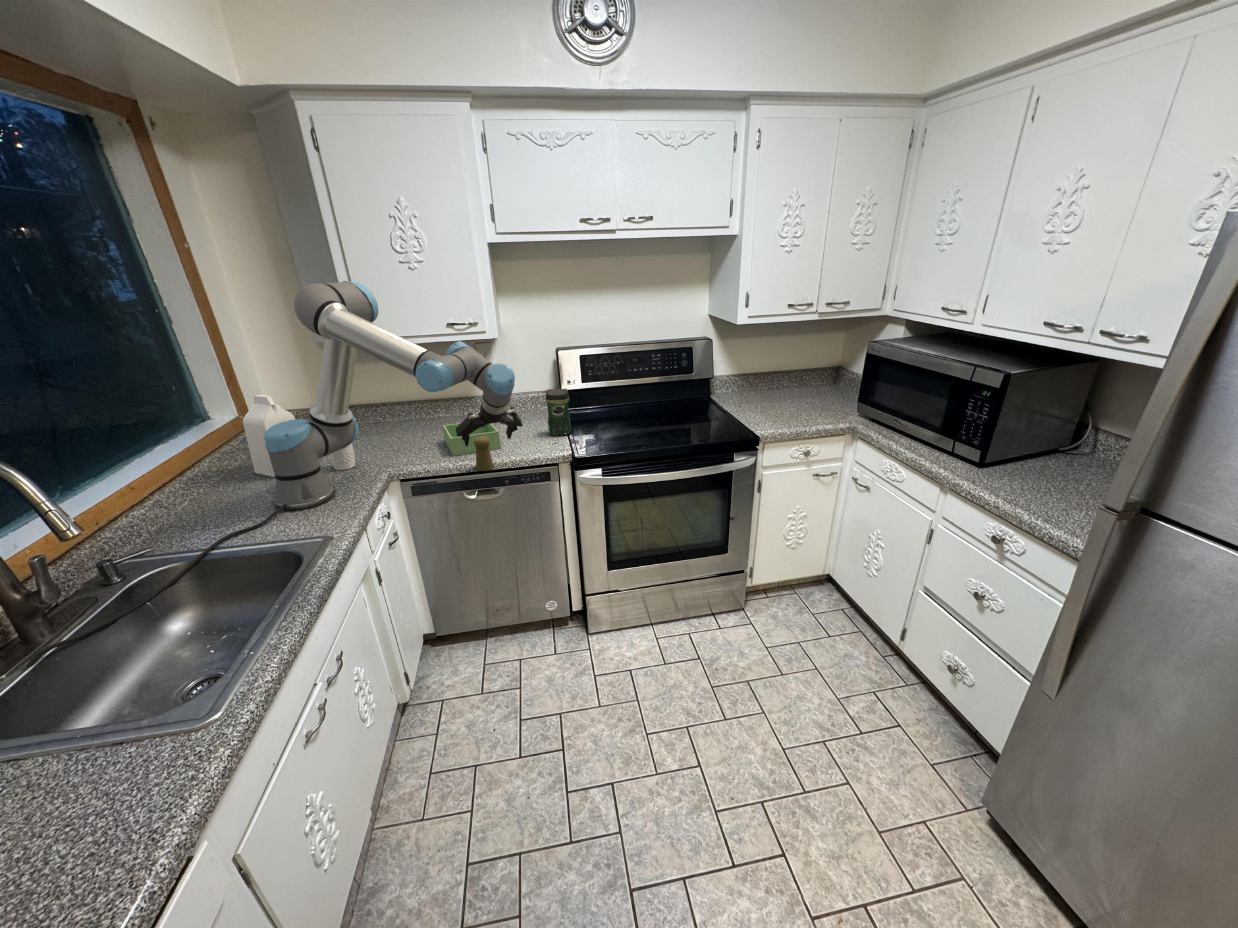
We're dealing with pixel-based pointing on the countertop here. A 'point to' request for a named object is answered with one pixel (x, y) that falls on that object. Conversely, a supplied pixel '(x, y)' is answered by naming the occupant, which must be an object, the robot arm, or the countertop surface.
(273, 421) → the milk
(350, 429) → the robot arm
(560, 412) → the coffee jar
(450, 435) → the box
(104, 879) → the countertop surface
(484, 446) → the cork
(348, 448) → the white cup
